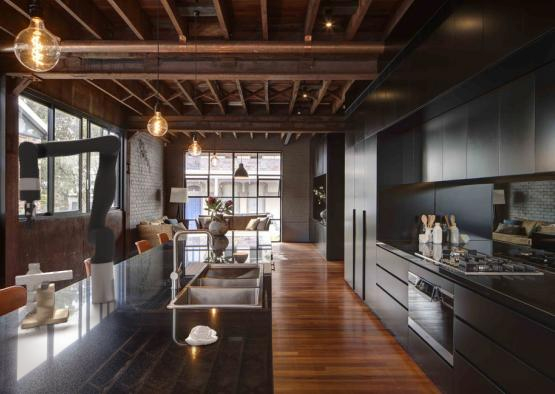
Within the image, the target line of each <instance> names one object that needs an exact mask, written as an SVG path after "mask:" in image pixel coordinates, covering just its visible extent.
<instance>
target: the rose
mask: <svg viewBox="0 0 555 394" xmlns="http://www.w3.org/2000/svg"><path fill="white" fill-rule="evenodd" d="M217 340H218V336H217V331H215V330H214V329H212V328H210V327H209V326H205V325H196V326H195V327H193V328H192V329H191V331H190V333H189V335H188V337H187V338H186V339H184V341H185V343H187V344H188V345H191V346H201V345H210V344H213V343H215V342H216V341H217Z"/></svg>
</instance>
